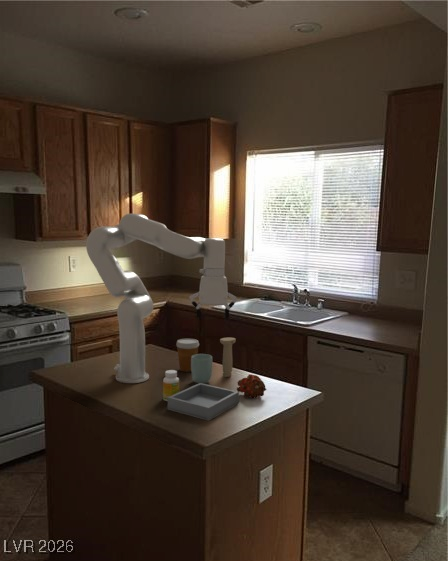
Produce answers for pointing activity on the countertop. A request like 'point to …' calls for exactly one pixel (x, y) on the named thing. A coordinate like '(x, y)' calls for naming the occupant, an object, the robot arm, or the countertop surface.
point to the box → (203, 401)
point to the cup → (201, 368)
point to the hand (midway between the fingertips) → (212, 319)
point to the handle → (227, 355)
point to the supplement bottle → (170, 384)
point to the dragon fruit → (251, 386)
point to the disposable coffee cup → (186, 352)
